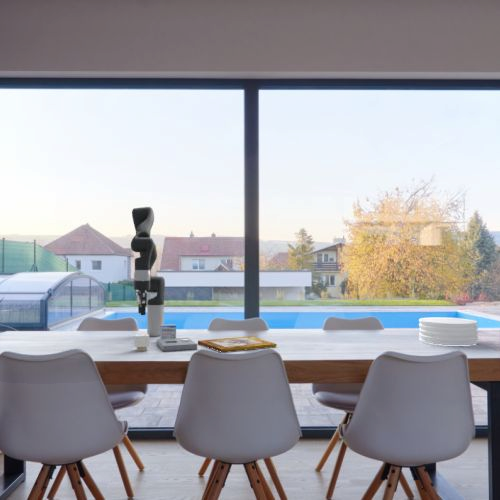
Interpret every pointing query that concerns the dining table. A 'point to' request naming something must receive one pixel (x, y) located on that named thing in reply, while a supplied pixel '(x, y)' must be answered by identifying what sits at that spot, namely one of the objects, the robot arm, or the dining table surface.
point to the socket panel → (176, 344)
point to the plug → (141, 342)
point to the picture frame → (236, 343)
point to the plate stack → (448, 331)
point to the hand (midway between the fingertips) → (141, 314)
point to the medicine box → (167, 331)
